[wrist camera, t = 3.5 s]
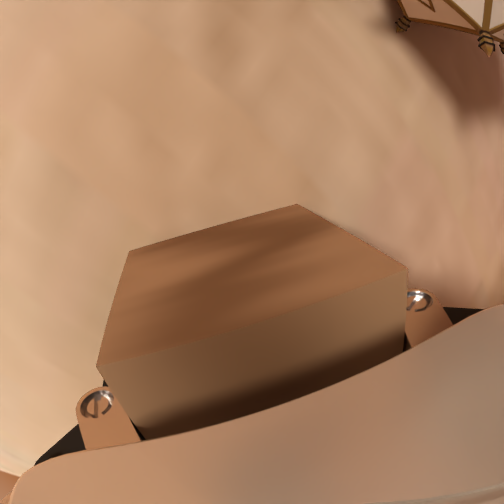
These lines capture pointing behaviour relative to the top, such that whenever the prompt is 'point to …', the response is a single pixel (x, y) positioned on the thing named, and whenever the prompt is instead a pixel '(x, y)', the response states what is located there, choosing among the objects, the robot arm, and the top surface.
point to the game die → (459, 18)
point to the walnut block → (247, 319)
